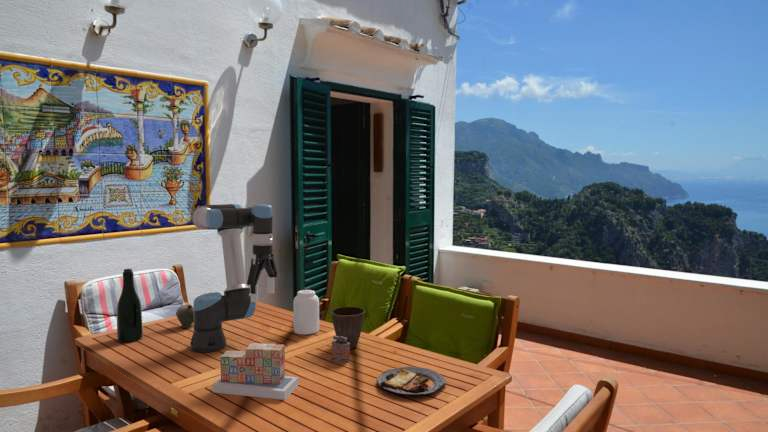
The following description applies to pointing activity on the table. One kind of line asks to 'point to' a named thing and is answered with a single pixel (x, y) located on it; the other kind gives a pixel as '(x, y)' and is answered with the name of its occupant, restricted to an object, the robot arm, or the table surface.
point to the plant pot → (348, 323)
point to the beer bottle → (129, 311)
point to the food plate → (410, 380)
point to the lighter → (340, 349)
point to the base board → (258, 388)
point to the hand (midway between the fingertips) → (262, 297)
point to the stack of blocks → (254, 364)
